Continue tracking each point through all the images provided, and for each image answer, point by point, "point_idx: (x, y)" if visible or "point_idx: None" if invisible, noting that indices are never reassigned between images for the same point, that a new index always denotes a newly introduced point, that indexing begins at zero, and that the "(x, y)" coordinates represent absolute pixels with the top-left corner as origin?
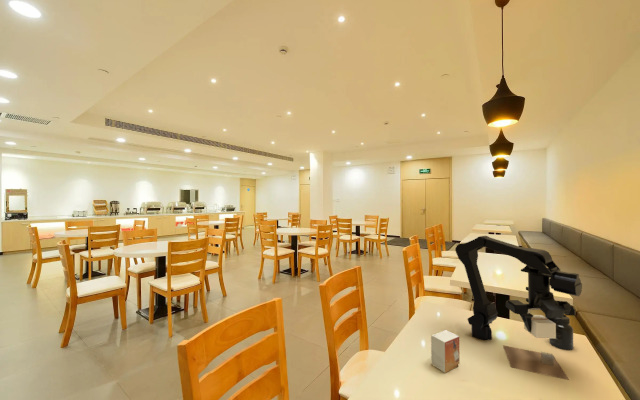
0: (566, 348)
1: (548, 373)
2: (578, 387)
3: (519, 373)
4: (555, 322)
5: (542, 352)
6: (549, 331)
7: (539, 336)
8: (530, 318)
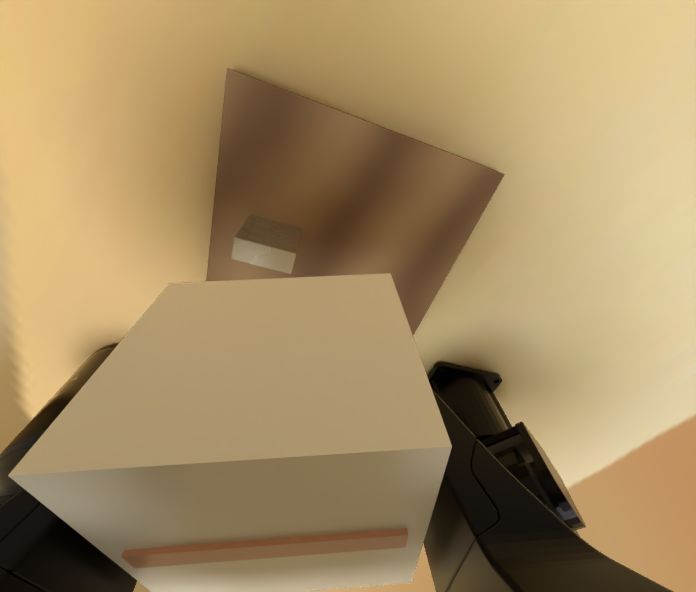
0: None
1: (322, 133)
2: (198, 24)
3: (471, 143)
4: (21, 504)
5: (287, 267)
6: (216, 333)
7: (356, 284)
8: (506, 554)
